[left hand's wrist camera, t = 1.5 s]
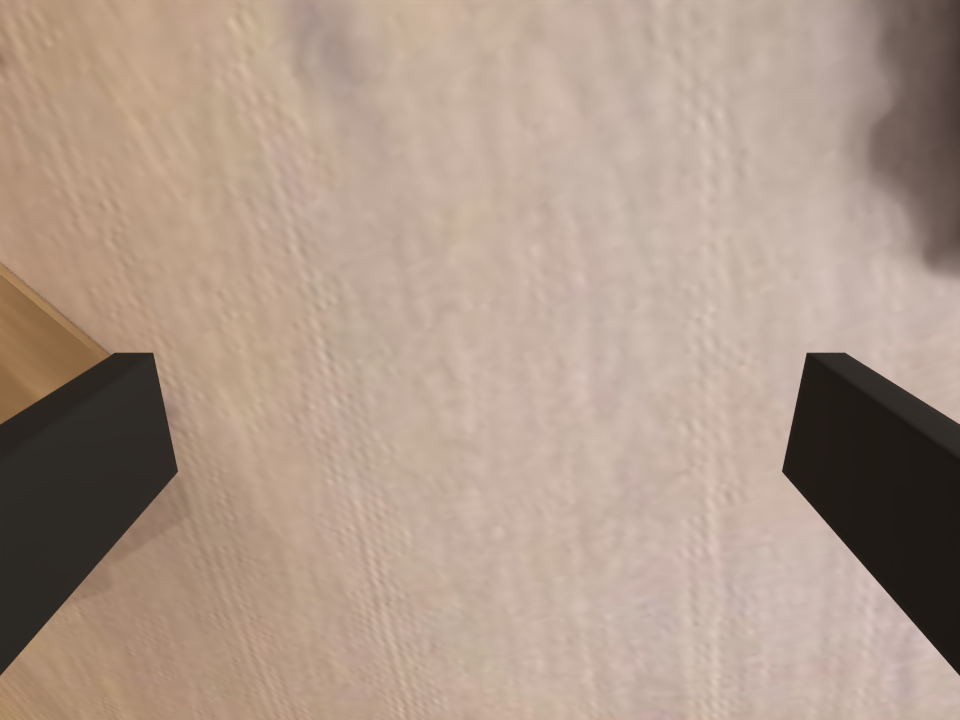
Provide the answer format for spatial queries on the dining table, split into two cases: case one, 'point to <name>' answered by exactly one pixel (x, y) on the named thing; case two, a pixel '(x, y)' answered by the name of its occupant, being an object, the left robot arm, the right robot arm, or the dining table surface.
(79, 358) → the chest
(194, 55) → the dining table surface
